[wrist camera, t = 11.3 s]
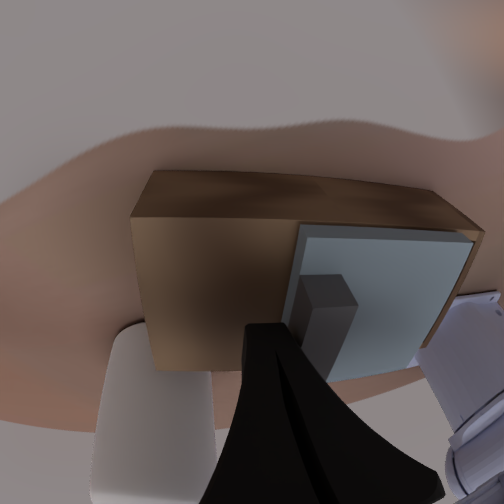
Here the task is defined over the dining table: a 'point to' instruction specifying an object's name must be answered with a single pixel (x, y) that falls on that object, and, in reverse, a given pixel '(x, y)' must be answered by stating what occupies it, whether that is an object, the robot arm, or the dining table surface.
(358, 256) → the cover
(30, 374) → the dining table surface
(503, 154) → the dining table surface
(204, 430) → the can
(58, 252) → the dining table surface
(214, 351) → the brown rectangular box
